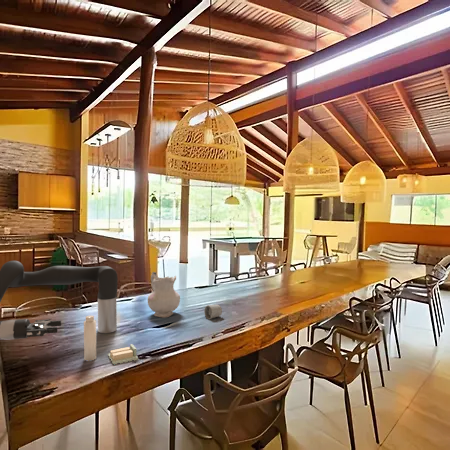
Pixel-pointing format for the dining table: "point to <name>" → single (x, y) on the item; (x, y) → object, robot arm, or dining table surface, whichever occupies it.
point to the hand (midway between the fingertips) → (59, 326)
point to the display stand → (123, 354)
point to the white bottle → (89, 338)
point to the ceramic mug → (212, 311)
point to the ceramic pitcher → (163, 296)
